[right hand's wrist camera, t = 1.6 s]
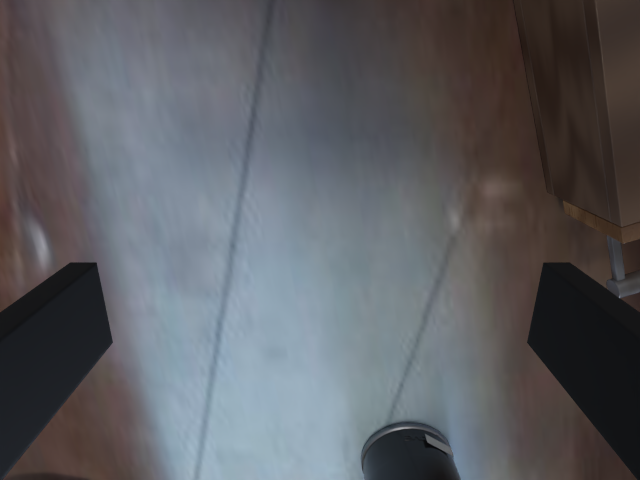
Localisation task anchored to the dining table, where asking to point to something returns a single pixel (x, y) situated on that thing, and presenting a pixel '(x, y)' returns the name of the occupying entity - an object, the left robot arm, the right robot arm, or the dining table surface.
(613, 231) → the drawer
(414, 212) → the dining table surface
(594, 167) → the cabinet
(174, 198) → the dining table surface
